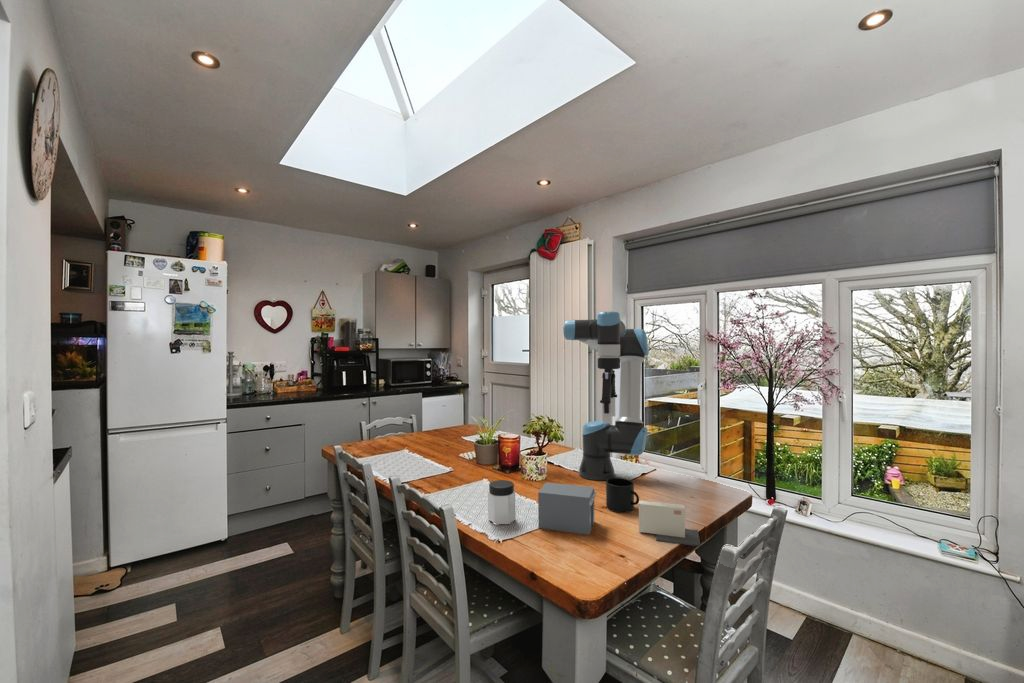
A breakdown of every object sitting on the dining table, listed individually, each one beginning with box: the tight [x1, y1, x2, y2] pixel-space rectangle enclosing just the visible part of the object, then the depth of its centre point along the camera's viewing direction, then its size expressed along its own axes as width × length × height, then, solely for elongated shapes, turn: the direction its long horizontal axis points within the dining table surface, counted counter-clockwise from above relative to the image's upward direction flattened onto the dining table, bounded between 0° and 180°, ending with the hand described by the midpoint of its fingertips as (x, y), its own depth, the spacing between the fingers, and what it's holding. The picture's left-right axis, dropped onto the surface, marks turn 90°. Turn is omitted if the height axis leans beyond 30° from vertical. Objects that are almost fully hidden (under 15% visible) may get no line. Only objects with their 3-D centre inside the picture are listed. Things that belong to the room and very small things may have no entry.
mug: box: [605, 477, 640, 513], centre depth 151 cm, size 9×12×9 cm
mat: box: [655, 528, 702, 548], centre depth 130 cm, size 10×12×1 cm
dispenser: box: [537, 482, 597, 536], centre depth 138 cm, size 10×17×11 cm, turn 71°
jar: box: [487, 479, 516, 525], centre depth 142 cm, size 9×8×12 cm
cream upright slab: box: [638, 499, 686, 538], centre depth 131 cm, size 3×13×8 cm, turn 71°
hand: (609, 419), depth 148 cm, fingers open, 13 cm apart
